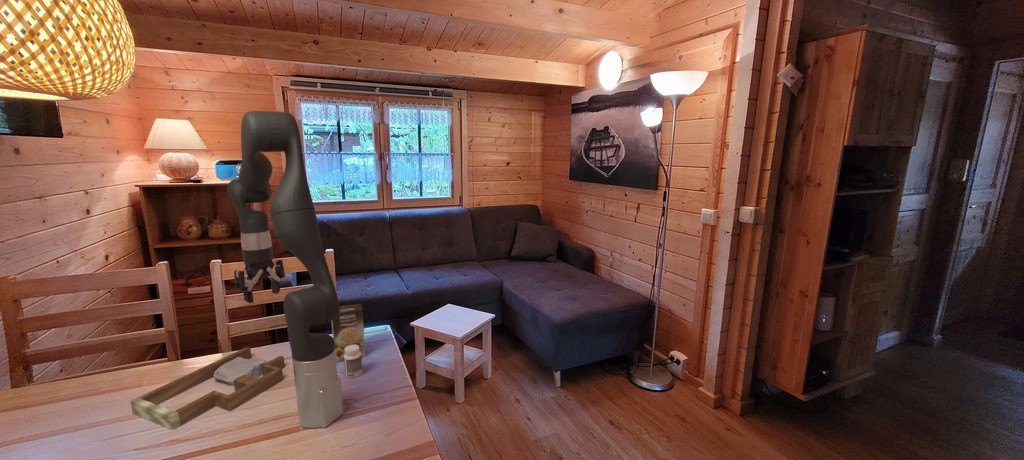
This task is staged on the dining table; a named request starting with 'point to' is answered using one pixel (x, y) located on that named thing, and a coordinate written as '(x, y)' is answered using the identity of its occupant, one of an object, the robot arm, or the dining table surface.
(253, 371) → the stone block
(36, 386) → the dining table surface
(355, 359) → the pill bottle
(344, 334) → the coffee box
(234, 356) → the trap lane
